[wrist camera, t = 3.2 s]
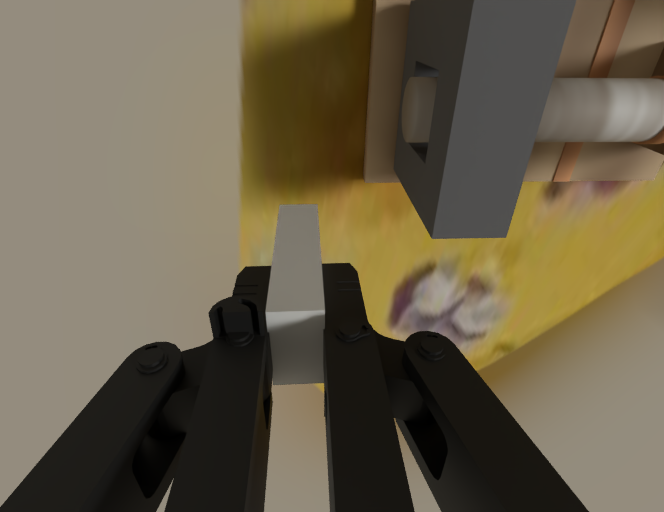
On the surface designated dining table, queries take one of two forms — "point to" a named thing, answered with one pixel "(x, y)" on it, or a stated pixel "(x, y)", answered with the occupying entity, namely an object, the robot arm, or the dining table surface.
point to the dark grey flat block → (477, 107)
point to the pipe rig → (563, 100)
